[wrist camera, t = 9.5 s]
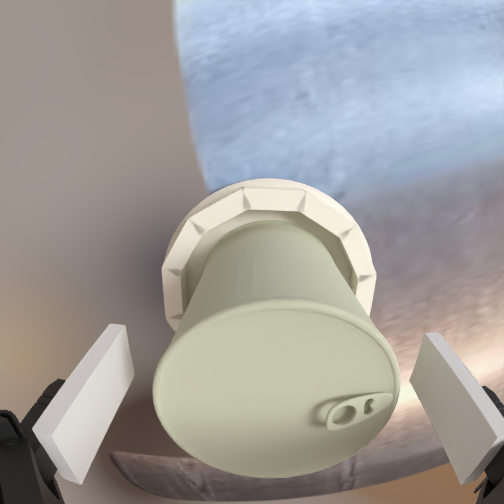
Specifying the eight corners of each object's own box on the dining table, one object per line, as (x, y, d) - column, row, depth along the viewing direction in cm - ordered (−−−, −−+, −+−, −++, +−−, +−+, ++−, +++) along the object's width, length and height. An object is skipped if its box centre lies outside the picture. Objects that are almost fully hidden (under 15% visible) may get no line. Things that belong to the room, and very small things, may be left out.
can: (337, 339, 22) (385, 471, 11) (212, 350, 23) (181, 486, 11) (336, 213, 20) (426, 289, 8) (191, 227, 20) (112, 316, 9)
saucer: (162, 176, 20) (150, 179, 18) (380, 185, 20) (394, 189, 18) (173, 362, 24) (166, 380, 22) (352, 367, 24) (359, 385, 22)
